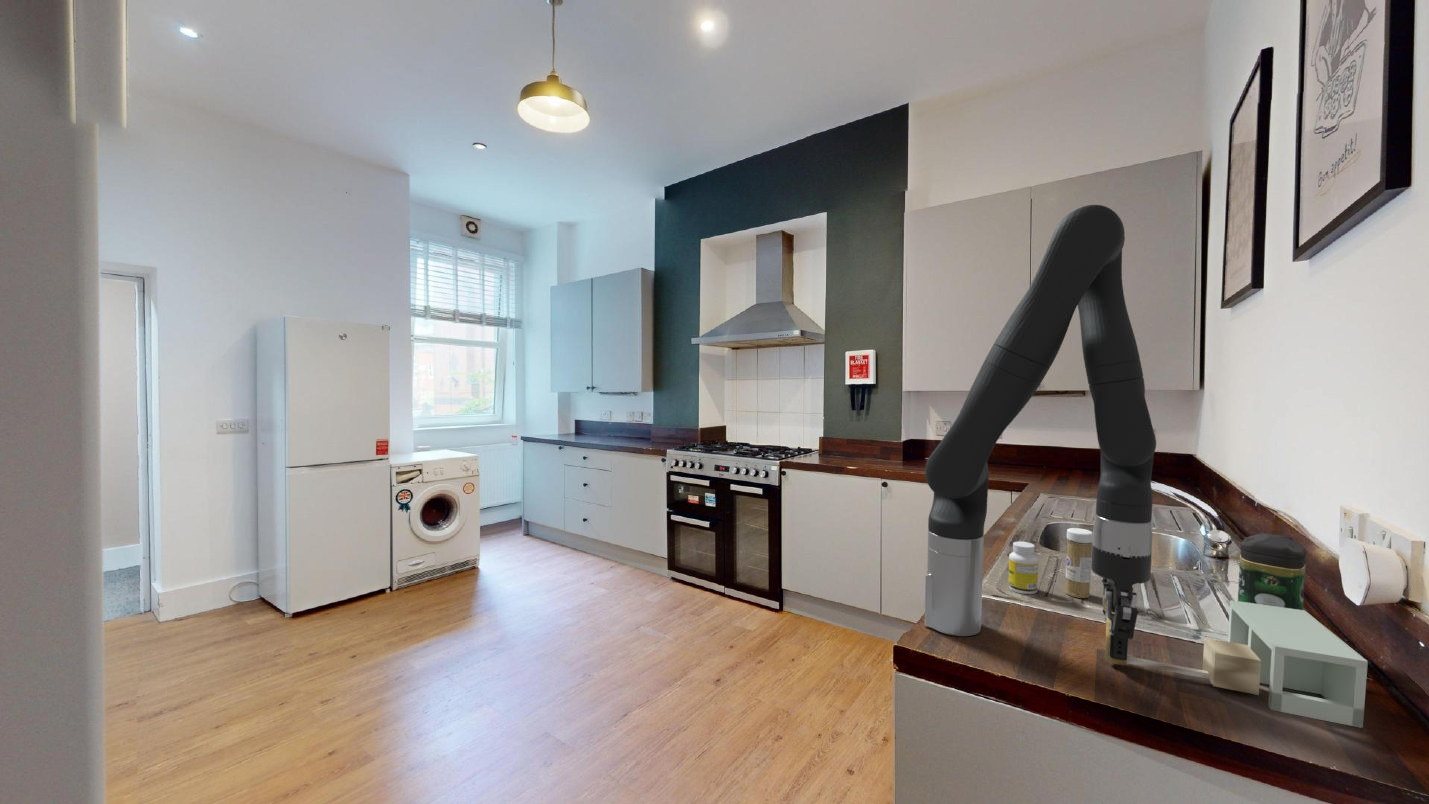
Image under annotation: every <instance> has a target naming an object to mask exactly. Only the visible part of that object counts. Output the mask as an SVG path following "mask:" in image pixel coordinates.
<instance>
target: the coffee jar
mask: <svg viewBox="0 0 1429 804" xmlns="http://www.w3.org/2000/svg"><path fill="white" fill-rule="evenodd" d="M1306 555H1307V550H1306V547H1304V545H1303V544H1301V543H1299V541H1296V540H1294V538H1292V537H1289V536H1285V535H1284V536H1283V535H1277V534H1270V533H1264V532H1260V533H1258V534H1254V535H1250V536H1247V537H1245V538H1244V539H1243V540H1242V542H1241V544H1240V554H1239V569H1238V571H1239V572H1238V586H1237V588H1238V589H1237V601H1240V602H1247V603H1254V604H1262V605H1269V606H1276V607H1283V608H1290V609H1298V610H1304V596H1305V582H1306V581H1305V580H1306V563H1307V561H1306V559H1307V558H1306Z"/></svg>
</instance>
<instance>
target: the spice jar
mask: <svg viewBox="0 0 1429 804" xmlns="http://www.w3.org/2000/svg"><path fill="white" fill-rule="evenodd" d="M1066 540H1067V543H1066V545H1067V546H1066V547H1067V548H1066V558H1065V559H1066V560H1065V562H1066V563H1065V584H1064V585H1065V586H1064V590H1063V591H1064V592H1065V594H1066V595H1068V596H1070V597H1073V598H1077V599H1087V598H1090V597H1091V593H1090V588H1091V587H1090V586H1091V579H1092V578H1091V576H1092V569H1091V563H1092V543H1093V531H1091V530H1089V529H1084V528H1078V527H1071V528H1067V530H1066Z"/></svg>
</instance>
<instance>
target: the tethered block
mask: <svg viewBox="0 0 1429 804" xmlns="http://www.w3.org/2000/svg"><path fill="white" fill-rule="evenodd" d="M1112 613H1113V614H1115V612H1112ZM1119 628H1122V629H1125V628H1124V627H1119ZM1109 629H1110V619H1108V617H1107V623H1105V640H1106V642H1105V643H1104V644H1105V645H1104V648H1105V649H1104V659H1105V660H1106V661H1108V662H1109V663H1112V664H1116V665H1126V664H1128V665H1129V664H1130V665H1135V666H1140V667H1145V668H1150V669H1155V670H1161V671H1165V672H1171V673H1175V674H1182V675H1186V676H1191V677H1197V678H1203V679H1208V680H1209V682H1210V683H1211V685H1212V686H1213V687H1216V688H1220V689H1221V688H1222V689H1226V690H1231V691H1236V692H1241V693H1247V694H1252V695H1256V696H1259V695H1260V684H1261V683H1260V672H1261V660H1260V659H1259V658H1258V657H1257V655H1256V654H1255V653H1254V652H1253V651H1252V650H1251V649H1250V647H1249V646H1248V645H1244V644H1238V643H1232V642H1228V641H1225V640H1219V639H1214V638H1207V637H1204V641H1203V642H1204V643H1203V653H1202V654H1203V656H1202V669H1199V668H1193V667H1188V666H1183V665H1177V664H1172V663H1166V662H1160V661H1156V660H1149V659H1145V658H1139V657H1134V656H1128V655H1127V659H1126V660H1125V661H1123V660H1118V659H1113V658H1111V657H1110V655H1109V643H1110V632H1109Z"/></svg>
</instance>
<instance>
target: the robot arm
mask: <svg viewBox="0 0 1429 804" xmlns="http://www.w3.org/2000/svg"><path fill="white" fill-rule="evenodd" d="M1125 239H1126V237H1125V226H1124V224H1123V221H1122V219H1121V218H1120V216H1119V215H1118V214H1117V213H1116V212H1115V210H1113V209H1111V208H1110V207H1107V206H1106V205H1102V204H1090V205H1088V204H1087V205H1084V206H1081V207H1079V208H1076V209H1075V210H1072V211H1071V212H1069V213H1068V214H1067V215H1065V216H1064V217H1063V218H1062V219H1061V221H1059V223H1058V224H1057V226H1056V227H1055V229H1054V230H1053V234H1052V236H1051V238H1050V241H1049V244H1048V245H1047V248H1046V251H1045V253H1044V255H1043V257H1042V260H1041V262H1040V264H1039V267H1038V269H1037V270H1036V273H1035V276H1034V278H1033V280H1032V282H1031V283H1030V286H1029V287H1028V289H1027V291H1026V292H1025V294H1024V296H1023V297H1022V298H1021V300H1020V301H1019V303H1018V305H1017V306H1016V307H1015V309H1014V310H1013V312H1012V314H1011V315H1010V317H1009V319H1008V320H1007V321H1006V323H1005V325H1004V326H1003V328H1002V329H1001V331H1000V333H999V334H998V336H997V338H996V339H995V340H994V343H993V345H992V346H991V348H990V350H989V352H988V354H987V356H986V357H985V358H984V359H985V360H984V361H983V363H982V365H981V367H980V369H979V371H978V373H977V375H976V377H975V379H974V381H973V383H972V385H971V387H970V389H969V391H968V393H967V396H966V398H965V400H964V403H963V405H962V407H961V409H960V411H959V413H958V415H957V417H956V419H955V420H954V421H953V423H952V425H951V427H950V428H949V429H948V431H946V433H945V435H944V436H943V438H942V439H941V441H940V442H939V443H938V445H937V446H936V447H935V449H934V450H933V452H931V454H930V455H929V456H928V459H927V461H926V464H925V474H924V475H925V479H926V483H927V485H928V487H929V488H930V490H931V491H932V492H933V498H932V499H933V500H932V505H931V509H930V511H929V514H928V519H927V520H928V521H927V523H928V526H927V529H928V530H927V532H928V533H927V563H926V564H927V566H926V567H927V568H926V569H927V570H926V573H925V586H924V587H925V591H924V594H925V595H924V627H928V628H931V629H933V630H935V631H938V632H940V633H943V634H946V635H951V636H956V637H957V636H958V637H969V636H975V635H977V634H979V633H980V632H981V630H982V606H983V605H982V603H983V600H982V598H983V568H984V567H983V565H984V563H983V562H984V534H985V533H984V532H985V523H986V518H987V513H988V499H989V498H988V497H989V496H988V494H989V493H988V492H989V476H990V475H989V464H988V461H989V457H990V456H991V453H992V451H993V450H994V447H995V445H996V444H997V442H998V440H999V439H1000V437H1001V436H1002V435H1003V433H1004V431H1005V430H1006V429H1007V427H1008V426H1010V425H1011V423H1012V422H1013V421H1014V419H1015V418H1016V417H1017V416H1018V415H1019V413H1021V411H1023V409H1024V408H1025V406H1026V405H1027V404H1028V403H1029V401H1030V400H1031V398H1032V397H1033V395H1035V394H1036V391H1037V390H1038V389H1039V387H1040V386H1041V384H1042V381H1043V380H1044V379H1045V377H1046V375H1047V373H1048V372H1049V370H1050V368H1051V367H1052V366H1053V363H1054V361H1055V359H1056V358H1057V356H1058V354H1059V351H1060V349H1061V347H1062V344H1063V342H1064V340H1065V337H1066V336H1067V335H1066V334H1067V332H1068V330H1069V326H1070V325H1071V322H1072V318H1073V315H1074V314H1075V312H1076V308H1077V309H1078V315H1079V324H1080V337H1081V347H1082V354H1083V355H1082V356H1083V363H1084V367H1085V374H1086V380H1087V383H1088V388H1089V392H1090V395H1091V398H1092V402H1093V409H1094V421H1095V429H1096V430H1095V431H1096V437H1097V443H1098V447H1099V450H1100V477H1099V482H1098V485H1097V490H1096V505H1095V519H1094V521H1093V522H1094V523H1093V526H1092V527H1093V529H1092V533H1093V542H1092V551H1091V556H1092V559H1091V572H1093V573H1094V574H1095V575H1097V576H1099V577H1101V578H1102V580H1101V582H1102V583H1101V591H1102V604H1101V605H1102V608H1103V609H1102V613H1103V615H1104V619H1103V620H1104V622H1105V624H1106V623H1107V617H1108V619H1110V629H1109V632H1110V643H1109V655H1110V657H1111V658H1113V659H1118V660H1123V661H1125V660H1126V659H1127V656H1128V650H1129V647H1128V646H1129V644H1128V643H1129V639H1130V640H1133V639H1134V636H1135V635H1134V633H1135V629H1136V624H1137V618H1138V615H1139V610H1138V608H1137V607H1136V605H1137V603H1138V594H1137V592H1136V591H1135V592H1134V587H1133V586H1134V585H1136V584H1137V585H1138V584H1145V583H1147V582H1149V581H1150V580H1151V573H1152V572H1151V571H1152V570H1151V569H1152V555H1153V553H1152V552H1153V551H1152V550H1153V529H1152V527H1153V526H1152V517H1153V490H1152V474H1153V467H1154V466H1153V465H1154V457H1155V456H1154V455H1155V452H1156V448H1157V439H1156V434H1155V432H1154V427H1153V423H1152V420H1151V415H1150V411H1149V409H1148V405H1147V401H1146V386H1145V385H1146V384H1145V378H1144V373H1143V368H1142V362H1141V357H1140V354H1139V348H1138V344H1137V340H1136V337H1135V333H1134V330H1133V327H1132V324H1131V323H1132V322H1131V319H1130V316H1129V312H1128V309H1127V308H1128V307H1127V305H1126V300H1125V299H1126V298H1125V294H1124V286H1123V273H1122V272H1123V270H1122V269H1123V267H1122V266H1123V265H1122V264H1123V248H1124V246H1125V241H1126V240H1125ZM1112 612H1115V614H1113V613H1112ZM1119 627H1124V628H1125V629H1122V628H1119ZM1105 642H1106V639H1105Z"/></svg>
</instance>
